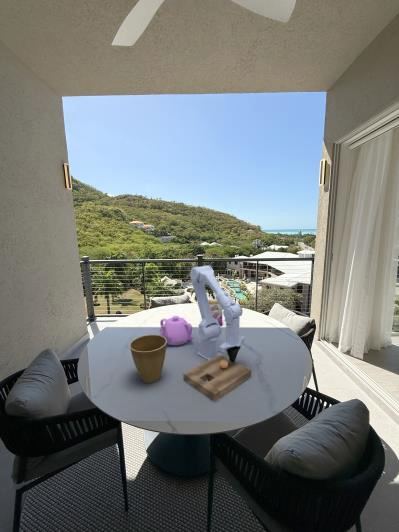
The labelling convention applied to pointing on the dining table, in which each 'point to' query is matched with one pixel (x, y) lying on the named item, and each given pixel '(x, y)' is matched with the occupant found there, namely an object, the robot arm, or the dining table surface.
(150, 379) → the plant pot
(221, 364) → the ball
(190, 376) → the brown wooden flat block
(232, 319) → the robot arm
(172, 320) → the teapot
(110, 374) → the dining table surface
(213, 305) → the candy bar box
